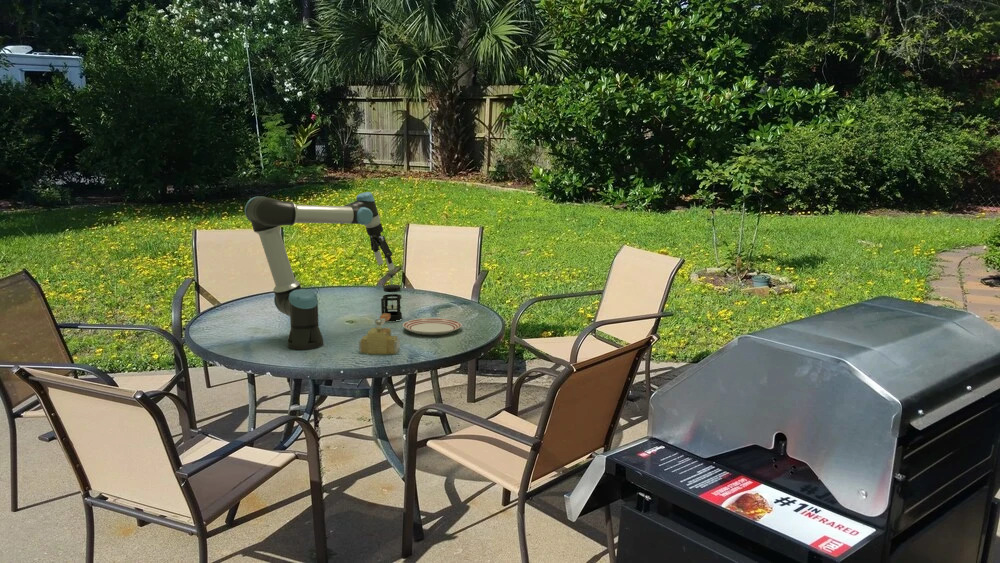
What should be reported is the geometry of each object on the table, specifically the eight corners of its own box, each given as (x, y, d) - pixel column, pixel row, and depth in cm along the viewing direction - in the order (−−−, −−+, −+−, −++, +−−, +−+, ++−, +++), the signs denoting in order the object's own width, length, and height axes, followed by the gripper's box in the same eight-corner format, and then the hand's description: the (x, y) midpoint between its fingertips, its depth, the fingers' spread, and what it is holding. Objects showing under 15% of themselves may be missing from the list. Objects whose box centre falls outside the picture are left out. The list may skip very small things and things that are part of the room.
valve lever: (374, 330, 306) (374, 321, 305) (383, 321, 321) (383, 312, 320) (382, 331, 306) (381, 321, 305) (390, 321, 321) (390, 312, 320)
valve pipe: (358, 353, 306) (357, 332, 304) (363, 348, 314) (362, 327, 312) (396, 354, 304) (395, 333, 303) (400, 349, 312) (400, 328, 311)
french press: (394, 316, 369) (393, 271, 364) (407, 319, 363) (406, 273, 358) (376, 320, 360) (375, 274, 355) (389, 323, 354) (388, 276, 350)
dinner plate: (432, 320, 362) (431, 313, 361) (473, 329, 345) (473, 323, 344) (390, 331, 341) (390, 324, 340) (432, 342, 324) (432, 334, 323)
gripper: (390, 226, 334) (403, 268, 341) (370, 218, 355) (383, 259, 362) (376, 231, 331) (389, 274, 338) (356, 224, 351) (369, 264, 359)
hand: (386, 266), depth 350 cm, fingers open, 13 cm apart
